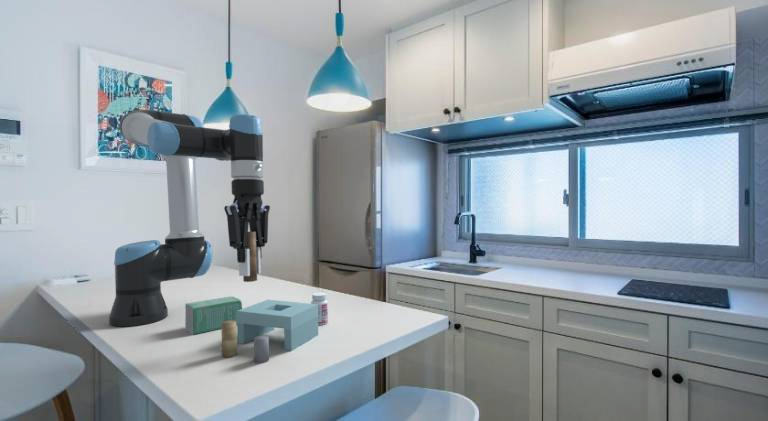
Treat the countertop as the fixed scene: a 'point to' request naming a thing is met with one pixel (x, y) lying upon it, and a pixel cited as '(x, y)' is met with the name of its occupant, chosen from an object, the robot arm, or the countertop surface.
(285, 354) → the countertop surface
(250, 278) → the walnut pin
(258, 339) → the charcoal pin
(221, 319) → the box
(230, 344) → the oak pin
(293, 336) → the bridge
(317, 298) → the pill bottle
